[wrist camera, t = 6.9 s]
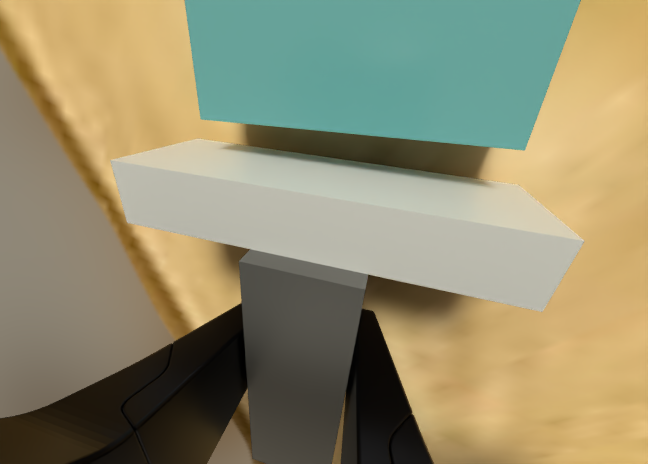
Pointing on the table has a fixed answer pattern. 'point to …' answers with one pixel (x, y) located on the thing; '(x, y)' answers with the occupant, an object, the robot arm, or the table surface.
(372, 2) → the tile
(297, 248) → the pusher
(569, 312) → the table surface
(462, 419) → the table surface
